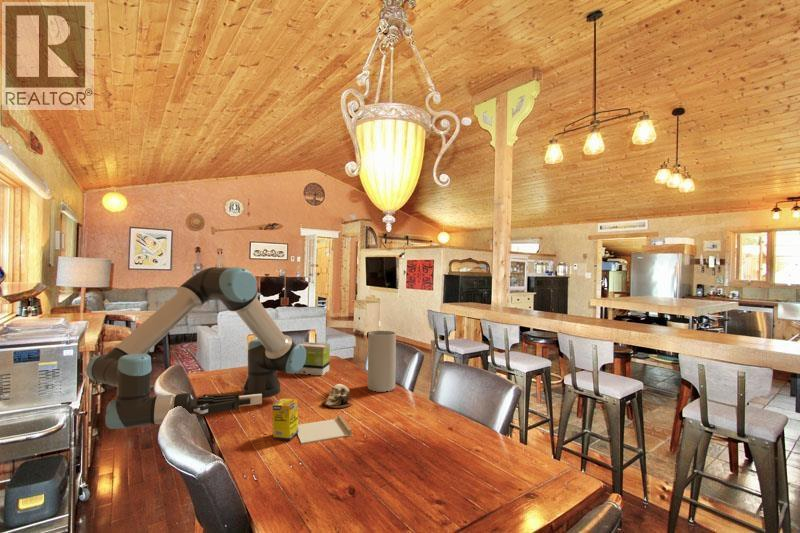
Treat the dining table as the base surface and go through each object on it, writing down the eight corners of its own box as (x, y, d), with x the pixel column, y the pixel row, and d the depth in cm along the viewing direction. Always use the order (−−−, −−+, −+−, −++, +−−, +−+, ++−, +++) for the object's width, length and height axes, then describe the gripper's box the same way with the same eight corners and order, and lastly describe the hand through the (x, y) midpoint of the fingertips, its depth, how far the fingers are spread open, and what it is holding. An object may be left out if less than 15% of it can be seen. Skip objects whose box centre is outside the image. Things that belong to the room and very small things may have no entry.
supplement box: (290, 440, 118) (289, 405, 117) (272, 439, 119) (271, 405, 119) (299, 432, 123) (298, 398, 123) (282, 431, 125) (281, 398, 125)
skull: (334, 409, 142) (324, 385, 147) (324, 422, 148) (314, 398, 153) (360, 401, 150) (349, 378, 155) (349, 413, 156) (339, 390, 161)
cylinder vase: (400, 387, 174) (401, 332, 174) (384, 394, 163) (385, 336, 163) (378, 382, 180) (379, 329, 180) (361, 389, 170) (362, 333, 170)
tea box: (294, 374, 192) (295, 345, 192) (302, 369, 202) (303, 341, 202) (322, 376, 189) (323, 346, 189) (329, 371, 199) (330, 342, 199)
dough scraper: (301, 444, 116) (301, 438, 116) (294, 426, 129) (294, 421, 129) (351, 435, 123) (351, 429, 123) (340, 419, 136) (340, 414, 136)
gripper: (176, 413, 114) (260, 404, 124) (170, 430, 102) (263, 418, 112) (177, 388, 114) (260, 380, 124) (171, 402, 103) (263, 392, 112)
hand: (261, 398), depth 118 cm, fingers closed
